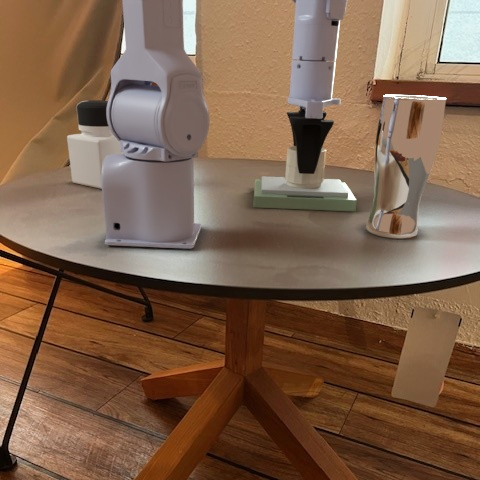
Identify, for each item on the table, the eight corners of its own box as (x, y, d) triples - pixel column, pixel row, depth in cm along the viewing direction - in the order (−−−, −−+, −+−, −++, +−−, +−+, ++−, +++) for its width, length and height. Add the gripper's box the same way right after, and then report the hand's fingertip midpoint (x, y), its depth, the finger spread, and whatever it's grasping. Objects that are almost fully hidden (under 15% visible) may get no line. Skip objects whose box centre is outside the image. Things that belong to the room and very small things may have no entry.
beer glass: (351, 225, 63) (369, 94, 56) (398, 221, 65) (421, 95, 58) (382, 242, 57) (407, 99, 50) (433, 237, 59) (463, 99, 53)
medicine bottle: (136, 182, 81) (131, 101, 75) (103, 190, 76) (95, 103, 70) (105, 176, 84) (98, 98, 79) (71, 183, 79) (61, 100, 74)
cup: (285, 188, 71) (288, 151, 68) (284, 179, 75) (286, 145, 73) (324, 189, 70) (328, 152, 68) (320, 181, 75) (324, 146, 73)
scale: (253, 207, 69) (254, 191, 68) (254, 189, 79) (255, 175, 78) (355, 211, 69) (357, 195, 68) (344, 193, 79) (345, 178, 78)
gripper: (353, 62, 59) (339, 179, 65) (337, 62, 72) (326, 160, 78) (293, 60, 59) (284, 177, 65) (287, 60, 72) (281, 158, 78)
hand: (304, 168), depth 72 cm, fingers open, 7 cm apart
